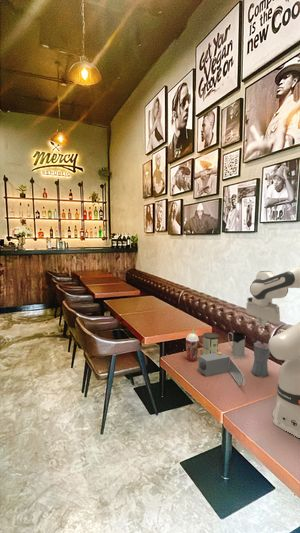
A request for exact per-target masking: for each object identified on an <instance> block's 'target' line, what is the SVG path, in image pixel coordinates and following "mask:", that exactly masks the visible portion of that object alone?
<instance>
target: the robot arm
mask: <svg viewBox="0 0 300 533" xmlns="http://www.w3.org/2000/svg"><path fill="white" fill-rule="evenodd" d="M289 289H300V265H299V266H297V267H294V268H292V269H289V270H287V271H285V272H282V273H279V274H277V275H275V273H274V272H273V271H272V270H271V271H270V270H262V271H258V272H257V274H256V277H255V279H254V280H253V281H252V283H251V284H250V286H249V292H250V294H251V295H252V296H250V297H247V298H246V301H247V302H246V306H245V307H246V308H245V311H246V314H248V315H250V316H254V317H256V320H257V323H258V324H257V325H258V326H259V327H261V328H265V327H266V323H267V322H268V321H269V322H270V323H274V324H276V323H279V322H280V320H281V315H280V312H281V311H280V306H278V304H276V303H273V300H274V299H283V298H285V297H286V296H287V295H288V293H289ZM267 344H268V346H269V350H270V355H272V357H274V359H276V360H278V361H279V360H280V361H284V362H283V363H282V364H281V365H280V368H279V373H278V374H279V376H278V383H277V387H276V394H277V396H276V403H275V406H274V408H273V411H272V415H271V416H272V417H273V425H274V426H276V427H277V428H279V429H281V430H283V431H285V432H286V431H287V432H286V433H288V432H289V433H291V434H293V435H294V436H293V435H292V436H293V437H295V436H296V437H298V438H300V321H299V322H297V323H296V324H294V325H291V326H289V327H288V328H286V329H285V330H283V331H281V332H279V333H277V334H275V335H273V336H271V337H270V338H269V340H268V343H267ZM289 433H288V434H289ZM291 434H290V435H291ZM296 437H295V438H296ZM298 438H297V439H298Z"/></svg>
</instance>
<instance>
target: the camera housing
mask: <svg viewBox="0 0 300 533" xmlns="http://www.w3.org/2000/svg"><path fill="white" fill-rule="evenodd" d="M230 358H231V357H230V356H229V355H227V354H226V353H224V352H222V351H218V352H216V353H210V354H205V355H202V354H200V355H198V364H197V365H198V366H197V367H198V368H197V371H199V372H200V373H201V374H203V376H205V377H211V376H214V375H220V374H224V373H228V372H229V362H230ZM229 373H230V372H229Z"/></svg>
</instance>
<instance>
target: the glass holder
mask: <svg viewBox="0 0 300 533" xmlns="http://www.w3.org/2000/svg"><path fill="white" fill-rule="evenodd" d="M230 334H231V337H232V343H231V340H230ZM227 340H228V343H229V345H230V347H231V349H232V351H231V354H230V355H231V357H233V359H240V360H241V359H243V360H244V359H245V358H246V356H245V352H246V351H245V349H246V347H245V346H246V334H245V333H243V332H236V331H235V332H233V333H232V332H228V333H227Z"/></svg>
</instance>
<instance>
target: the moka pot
mask: <svg viewBox="0 0 300 533" xmlns="http://www.w3.org/2000/svg"><path fill="white" fill-rule="evenodd" d="M268 344H269V343H266V342H265V340H261V341H259V340H257V339H255V340H254V341H253V357H254V359H253V363H252V364H253V365H252V369H251V373H252V374H253V375H255V376H256V377H260V378H264V377H265V378H266V377H267V376H268V375H269V369H268V361H269V358H270V355H271V352H270V350H269V346H268Z"/></svg>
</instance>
